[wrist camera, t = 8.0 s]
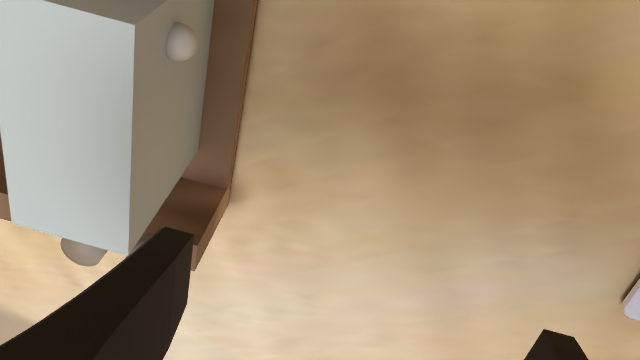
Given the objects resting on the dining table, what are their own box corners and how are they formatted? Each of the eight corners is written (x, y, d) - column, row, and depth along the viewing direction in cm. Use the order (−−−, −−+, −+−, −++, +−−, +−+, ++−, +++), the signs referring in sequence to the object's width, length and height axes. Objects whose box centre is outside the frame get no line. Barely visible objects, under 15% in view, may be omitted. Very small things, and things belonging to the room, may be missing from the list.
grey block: (239, -34, 18) (163, 32, 13) (214, 155, 22) (149, 261, 17) (108, -70, 18) (-18, -17, 13) (107, 125, 22) (11, 223, 17)
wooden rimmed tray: (276, -133, 17) (224, -108, 12) (228, 206, 24) (184, 293, 20) (-124, -235, 17) (-305, -245, 13) (-54, 130, 24) (-155, 200, 20)
